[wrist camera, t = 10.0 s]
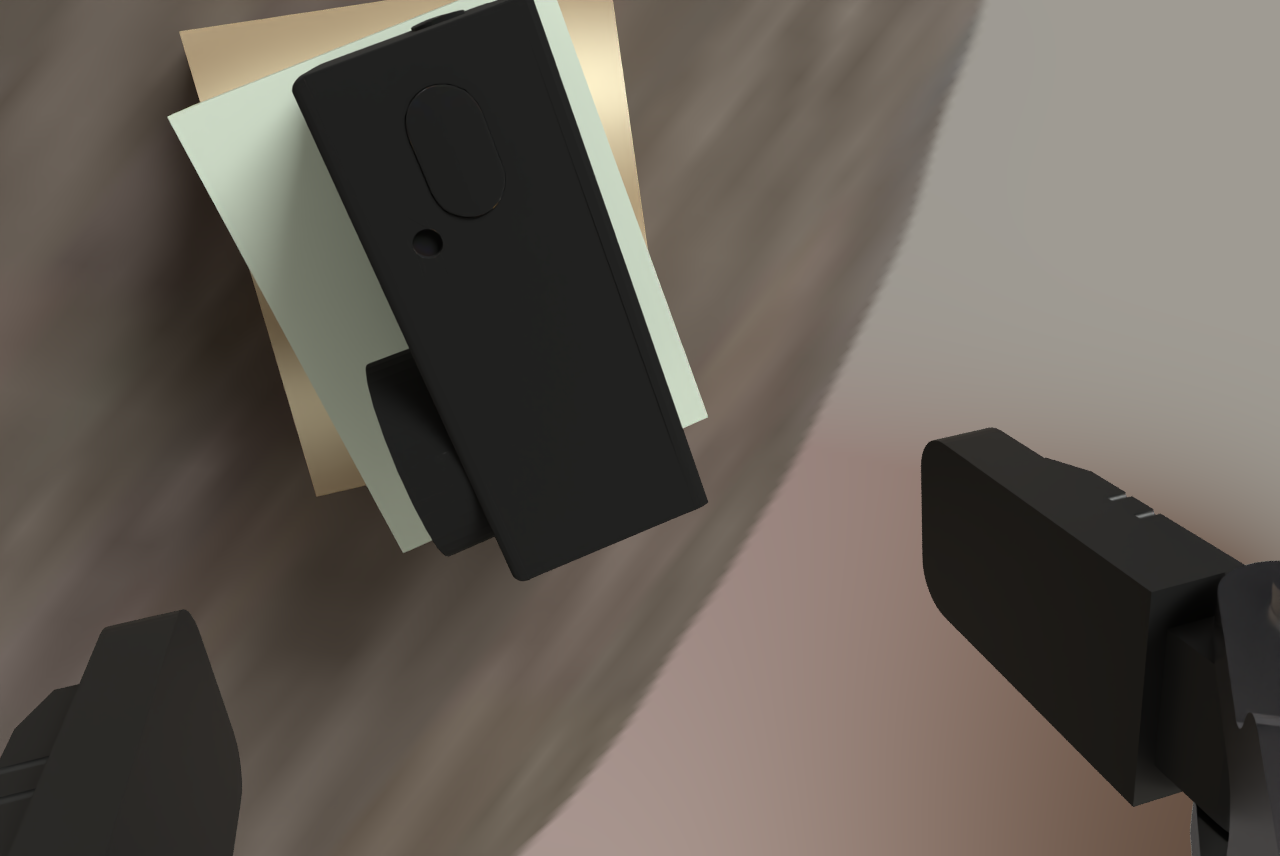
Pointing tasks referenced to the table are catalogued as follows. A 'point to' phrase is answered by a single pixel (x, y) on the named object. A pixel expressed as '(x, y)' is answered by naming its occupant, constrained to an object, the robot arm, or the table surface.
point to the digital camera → (499, 294)
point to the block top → (337, 264)
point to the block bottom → (291, 39)
